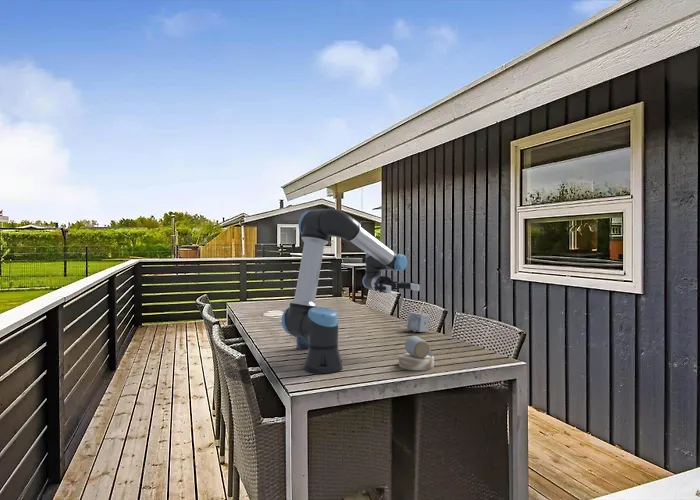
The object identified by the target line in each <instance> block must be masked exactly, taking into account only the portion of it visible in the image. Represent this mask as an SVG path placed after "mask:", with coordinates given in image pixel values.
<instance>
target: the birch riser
mask: <svg viewBox="0 0 700 500" xmlns="http://www.w3.org/2000/svg"><path fill="white" fill-rule="evenodd" d="M398 366H399V367H400V368H401V369H404V370H409V371H428V370H431V369H434V367H435V356H434V355H433V356H431V355H427V356H426V357H424V358H417V357H415V356H413V355H411V354H409V353H408V352H404V353H400V354H399V355H398Z"/></svg>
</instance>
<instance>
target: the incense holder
mask: <svg viewBox="0 0 700 500" xmlns="http://www.w3.org/2000/svg"><path fill="white" fill-rule="evenodd" d="M430 318H431V315H430V314H428V313H427V314H426V313H420V312H415V311H408V315H407V324H406V329H407V330H409V331H413V333H416V332H419V333H429V332H430V329H429V320H430Z"/></svg>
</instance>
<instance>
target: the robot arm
mask: <svg viewBox="0 0 700 500" xmlns="http://www.w3.org/2000/svg"><path fill="white" fill-rule="evenodd" d="M297 226H298V230H299V233H300V234H301V240H302V242H303V248H302V253H301V260H300V266H299V270H298V271H299V272H298V277H297V283H296V287H295V293H294V297H293V298H294V299H292V300H291V301H289V307H287V308H286V309H285V310H284V311H283V313H282V314H281V326H282V329H283V330H284V332H286V333H287V334H288V335H290V336H293V337H295V338H297V337H301V338H306V339H309V349H307V354H306V357H305V358H306V359H305V360H304V363H303V365H304V366H303V369H304V370H305V372H308V373H312V374H313V373H314V374H332V373H337V372H340V371H342V369H343V365H344V364H343V363H344V362H343V360H342V359H341V358H342V357H341V354H340V351H339V317H338V316H339V315H338V313H337V311H336V310H334V309H332V308H330V307H329V308H328V307H321V306H319V307H318V305H317V304H316V298H317V297H316V296H317V290H318V285H319V278H320V273H321V266H322V261H323V254H324V249H325V246H326V245H328V244H329V241H330V237H334V238H339V239H342V240H343V241H346V242H350V243H352V244H353V245H355V246H356V247H357V248H359V249H360V250H362V251H363V252H365V257H364V258H365V274H364V276H363V278H362V280H361V281H362V285H363V287H364V288H366V289H368V290H370V291H375V292H378V293H384V294H386V293H387V294H388V293H390V294H391V293H392V291H393V290H400V289H403V290H405V289H406V290H410V291H411V290H412V291H416V292H420V290H421V289H420V288H421V285H420V284H417V282H414V281H411V282H407V281H406V282H405V281H394V280H392V278H391V277H389V276H387V275H382V270H383V271H395V272H398V271H399V272H400V271H404V270H406V268H407V266H408V259H407V257H406V255H405V254H402V253H396V252H395V251H393V250H392V249H390V248H389V247H388V246H387V245H385V244H384V243H382V241H380V240H379V239H377V238H376V237H375V236H373V234H371V233H370V232H368V231H367V230H365V228H363V227H361V223H360V222H359V221H358V220H356V219H355V218H354V217H352V216H351V215H350V214H347V213H345V212H344V211H342V210H340V209H337V208H313V209H310V210H306V211H305V212H303V213H302V214H301V216H300V217H299V220H298V225H297Z"/></svg>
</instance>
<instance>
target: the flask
mask: <svg viewBox="0 0 700 500" xmlns="http://www.w3.org/2000/svg"><path fill="white" fill-rule="evenodd" d="M296 349H299V350H308V349H309V339H306V338H301V337H296Z"/></svg>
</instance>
